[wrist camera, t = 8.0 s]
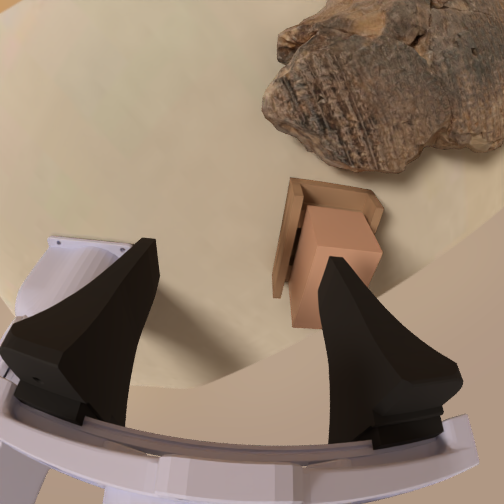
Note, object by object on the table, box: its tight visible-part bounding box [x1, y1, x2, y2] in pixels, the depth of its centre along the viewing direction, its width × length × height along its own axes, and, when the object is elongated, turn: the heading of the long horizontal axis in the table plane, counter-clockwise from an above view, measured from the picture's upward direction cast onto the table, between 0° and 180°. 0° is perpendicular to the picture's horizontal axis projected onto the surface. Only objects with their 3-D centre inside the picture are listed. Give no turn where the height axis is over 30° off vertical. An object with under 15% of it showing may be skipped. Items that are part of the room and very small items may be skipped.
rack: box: [272, 177, 384, 298], centre depth 22 cm, size 9×6×3 cm
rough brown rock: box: [262, 0, 504, 173], centre depth 13 cm, size 14×5×20 cm
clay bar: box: [288, 205, 383, 329], centre depth 20 cm, size 7×4×4 cm, turn 174°
